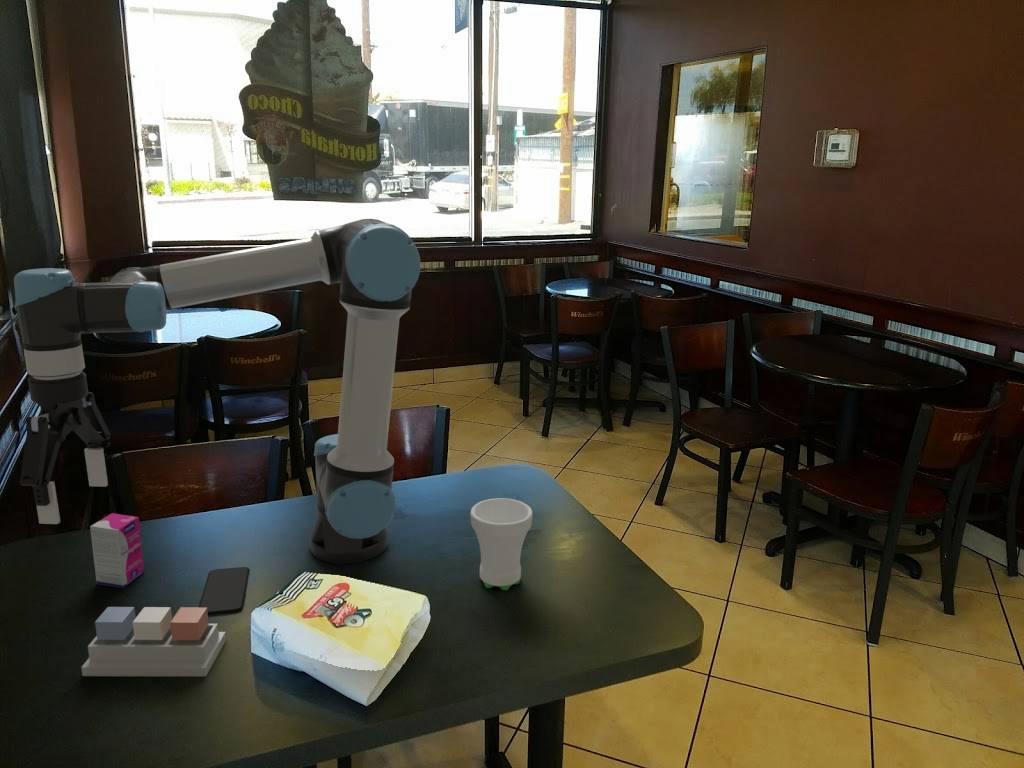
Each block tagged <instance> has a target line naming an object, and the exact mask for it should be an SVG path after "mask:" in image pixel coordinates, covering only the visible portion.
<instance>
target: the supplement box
mask: <svg viewBox="0 0 1024 768" xmlns="http://www.w3.org/2000/svg"><path fill="white" fill-rule="evenodd" d="M89 526H90V527H89V528H90V539H91V546H92V555H93V556H92V557H93V562H94V571H95V581H96V584H97V585H100V586H101V585H102V586H110V587H116V588H121V589H124V588H126V586H128V584H130V583H132V581H134V580H135V579H136V578H138V577H139V576H141V575H143V574H144V572H145V568H144V558H143V557H144V556H143V549H142V548H143V547H142V538H141V526H140V518H139V517H138V516H134V515H128V514H127V515H126V514H119V513H113V512H112V513H110V514H108V515H107V516H105V517H103V518H102V519H100V520H98V521H97V522H95V523H93V524H92V525H89Z"/></svg>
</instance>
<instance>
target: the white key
mask: <svg viewBox="0 0 1024 768" xmlns="http://www.w3.org/2000/svg"><path fill="white" fill-rule="evenodd" d="M172 619H173V614H172V607H167V606H165V607H164V606H160V607H159V606H144V607H143V608H142V609H141V611H140V612H139V613H138V615H137V616H136V618H135V620H134V621H133V629H134V637H135V640H162V639H163V638H164V636H165V635H166V633H167V632H168V630H169V629H170V628H171V625H170V622H171V621H172Z"/></svg>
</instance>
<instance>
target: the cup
mask: <svg viewBox="0 0 1024 768" xmlns="http://www.w3.org/2000/svg"><path fill="white" fill-rule="evenodd" d="M532 523H533V509H532V508H531V507H530V506H529V505H528V504H526V503H525V502H523V501H520V500H517V499H513V498H504V497H503V498H502V497H501V498H499V497H497V498H496V497H495V498H490V499H485V500H481V501H479V502H477V503H476V504H474V505H473V506H472V507H471V510H470V524H471V525H470V526H471V527H472V529H473V530H474V532H475V535H476V538H477V540H478V544H479V550H480V564H479V565H480V566H479V579H480V580H481V581H482V583H483V585H484V588H487V589H491V588H494V587H498V588H500V589H501V590H502V591H504V590H505V591H508V590H509V589H510V587H512V586H513V585H518V584H520V581H521V578H522V577H521V576H522V566H521V554H522V549H523V545H524V541H525V538H526V536H527V534H528V533H529V531H530V529H531V528H532Z"/></svg>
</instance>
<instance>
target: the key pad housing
mask: <svg viewBox="0 0 1024 768" xmlns="http://www.w3.org/2000/svg"><path fill="white" fill-rule="evenodd" d="M226 641H227V633H226V631H219V624H218V623H209V625H208V627H207V628H206V630H205V631H204V633H203V635H202V636H201V638H200V640H172V634H171V628H170V629H169V630H168V632H167V633H166V635H165V636H164V638H163V639H162V640H135V637H134V629H133V630H132V631H131V632H130V633H129V635H128V636H127V637H126V639H125V640H97V635H96V636H95V637H94V638H93V639H92V641H91V642H90V643H89V644H88V646H87V652H88V658H87V659H86V661H85V662H84V664H83V665H81V667H80V668H81V673H82V677H204V678H205V677H207V675H208V674H209V672H210V670H211V668H212V666H213V665H214V663H215V661H216V660H217V658H218V656H219V654H220V653H221V651H222V649H223V647H224V644H225V643H226Z"/></svg>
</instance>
